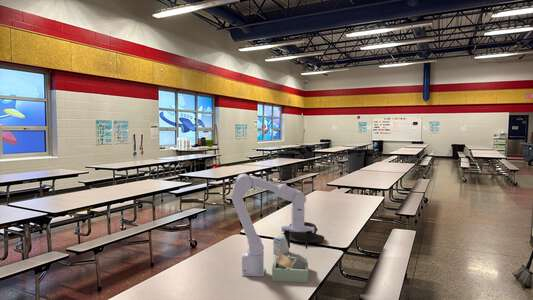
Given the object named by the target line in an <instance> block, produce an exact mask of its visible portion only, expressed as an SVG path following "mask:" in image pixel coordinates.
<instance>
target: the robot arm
mask: <svg viewBox="0 0 533 300" xmlns="http://www.w3.org/2000/svg"><path fill="white" fill-rule="evenodd" d="M251 188H252V189H256V188H261V189H265V190H266V191H270V192H273V193H274V194H275V196H276V197H278V198H281V199H283V200H285V201H287V202H291V223H292V226H290V225H284V226H282V225H281V233H284V235H285V237H286V240H287V243H288V248H289V249H290V248H291V240H290V231H291V232H306V243H305V250H308V245H309V243H310V242H309V240H310V238H311V236H312V233H314V227H307V226H304V222H305V209H306V208H305V204H306V203H307V197H306V195H305V193H304V192H302V191H301V190H299V189H297V188H296V187H294V188H293V187H290V186H288V185H287V184H286V183H283V184H282V183H280V184H274V183H272V182H270V181H268V180H265V179H263V178H261V177H257V176H254V175H251V174H249V175H248V174H247V173H239V174H238V175H237V176H236V178H235V180H234V181H233V186H232V192H231V196H230V197H231V201H232V204H233V206H234V209H235V211H236V214H237V216H238V219H239V221H240V223H241V225H242V228H243V232H244V234H245V236H246V239H247V246H248V249H247V251H245V252H242V255H241V257H242V258H241V276H242V277H259V278H260V277H262V278H263V277H264V276H265V272H266V267H265V266H264V265H265V264H264V263H265V262H264V261H265V259H264V257H265V256H264V244H263V242H262V237H260V236H259V235H258V233H257V231H256V228H255V226H254V224H253V222H252V218H251V216H250V213H249V211H248V208H247V206H246V203H245V201H244V197H245V195H246V193H247V192H249V190H250V189H251Z"/></svg>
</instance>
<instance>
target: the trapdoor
mask: <svg viewBox="0 0 533 300" xmlns="http://www.w3.org/2000/svg"><path fill="white" fill-rule="evenodd" d="M292 262H293V260H291V259H289V258H288V256H286V254H282V253H280V252H279V255H278V260H277V263H278V268H284V269H287V267H288V268H289V269H293V268H292Z"/></svg>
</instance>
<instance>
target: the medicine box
mask: <svg viewBox="0 0 533 300" xmlns="http://www.w3.org/2000/svg"><path fill="white" fill-rule="evenodd" d="M272 243H273V248H272V249H273V251H272V252H273V253H272V254H273V255H275V256H278V255H279V252H280V253H282V254H283V255H286V254H287V253H289V252H290V248H288V243H287V240H286V237H285V235H284V234H283V233H281V234H279V235H276V236H275V237H273V242H272Z"/></svg>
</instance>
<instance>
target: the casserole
mask: <svg viewBox="0 0 533 300" xmlns="http://www.w3.org/2000/svg"><path fill="white" fill-rule="evenodd" d="M289 226H292V222H291V223H290V224H289ZM304 226H307V227H314V233H312V236H311V238H310V240H309V243H320V242H323V241H324V240H325V236H324V235H321V234H318V233H317V232H318V230H319V229H318V228H317V226H316V224H314V223H312V222H308V221H304ZM282 234H284V232H282ZM290 241H292V242H296V243H303V244H304V243H305V244H306V232H291V231H290Z"/></svg>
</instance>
